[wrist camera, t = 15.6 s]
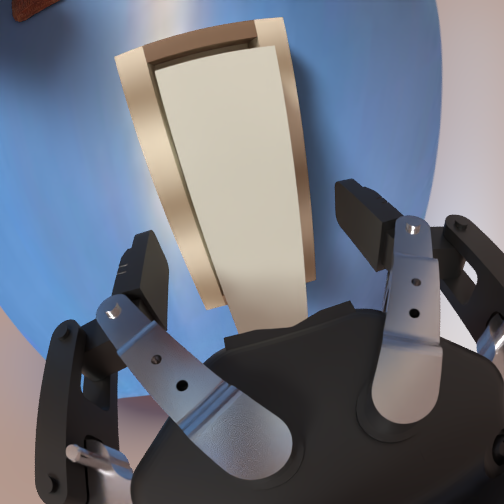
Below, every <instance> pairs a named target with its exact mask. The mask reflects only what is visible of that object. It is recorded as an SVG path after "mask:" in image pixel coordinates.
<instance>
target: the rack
mask: <svg viewBox="0 0 504 504" xmlns="http://www.w3.org/2000/svg"><path fill="white" fill-rule="evenodd" d="M274 45H275V50H276V55H277V60H278V65H279V71H280V76H281V82H282V88H283V94H284V100H285V106H286V112H287V119H288V125H289V132H290V139H291V146H292V154H293V161H294V169H295V177H296V186H297V194H298V203H299V213H300V222H301V233H302V244H303V255H304V268H305V281H306V283H307V282H310V281H314V280H316V271H315V253H314V237H313V224H312V211H311V200H310V189H309V179H308V170H307V161H306V152H305V144H304V136H303V129H302V122H301V115H300V108H299V101H298V95H297V89H296V83H295V77H294V71H293V66H292V60H291V55H290V50H289V44H288V39H287V35H286V30H285V25H284V21H283V17H280V18H268V19H258V20H250V21H242V22H236V23H229V24H224V25H218V26H213V27H208V28H204V29H199V30H195V31H191V32H187V33H183V34H179V35H176V36H172V37H169V38H165V39H162V40H159V41H156V42H153V43H150V44H147V45H144V46H141V47H138V48H136V49H133V50H130V51H128V52H125V53H123V54H120V55H118V56H115V61H116V65H117V69H118V73H119V76H120V80H121V84H122V87H123V91H124V94H125V97H126V101H127V104H128V108H129V111H130V114H131V117H132V120H133V124H134V127H135V130H136V133H137V136H138V139H139V142H140V145H141V148H142V151H143V154H144V157H145V160H146V163H147V165H148V168H149V171H150V174H151V177H152V179H153V182H154V185H155V188H156V190H157V193H158V196H159V198H160V201H161V204H162V206H163V209H164V211H165V214H166V217H167V219H168V222H169V224H170V227H171V229H172V232H173V234H174V237H175V239H176V241H177V244H178V246H179V249H180V251H181V253H182V256H183V258H184V260H185V263H186V265H187V267H188V270H189V272H190V274H191V277H192V279H193V281H194V283H195V286H196V288H197V290H198V292H199V295H200V297H201V299H202V301H203V303H204V305H205V308H206V310H209V309H213V308H216V307H220V306H224V305H228V304H227V301H226V298H225V295H224V293H223V290H222V287H221V284H220V281H219V279H218V276H217V273H216V270H215V267H214V264H213V262H212V259H211V256H210V253H209V250H208V247H207V244H206V241H205V238H204V235H203V232H202V229H201V226H200V223H199V220H198V217H197V214H196V211H195V208H194V205H193V202H192V199H191V196H190V192H189V189H188V186H187V183H186V180H185V176H184V173H183V170H182V167H181V163H180V160H179V157H178V153H177V150H176V147H175V143H174V140H173V136H172V133H171V130H170V126H169V123H168V119H167V115H166V112H165V108H164V105H163V101H162V97H161V94H160V90H159V86H158V82H157V78H156V75H155V71H157V70H160V69H163V68H166V67H169V66H173V65H176V64H180V63H183V62H187V61H191V60H195V59H199V58H203V57H208V56H212V55H217V54H222V53H227V52H232V51H238V50H244V49H251V48H258V47H266V46H274Z"/></svg>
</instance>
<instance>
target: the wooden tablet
mask: <svg viewBox="0 0 504 504" xmlns="http://www.w3.org/2000/svg"><path fill="white" fill-rule="evenodd" d="M57 1H59V0H12V14H13V18H14V19H15V21H18V22H22V21H24V20H27V19H28V18H30V17H31V16H33V15H34V14H36V13H38V12H40V11H41V10H43V9H45V8H46V7H48V6H50V5H52V4H54V3H56V2H57Z"/></svg>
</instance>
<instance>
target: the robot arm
mask: <svg viewBox="0 0 504 504" xmlns="http://www.w3.org/2000/svg"><path fill="white" fill-rule="evenodd" d="M335 210H336V218H337V221H338V224H339V225H340V227H341V228H342V229H343V230H344V232H345V233H346V234H347V235H348V237H349V238H350V239H351V240H352V242H353V243H354V244H355V245H356V247H357V248H358V249H359V250H360V252H361V253H362V254H363V256H364V257H365V258H366V259H367V261H368V262H369V263H370V265H371V266H372V267H373V269H374V270H375V271H376V272H378V271H380V270H383V269H387V270H388V273H387V279H386V286H385V292H384V299H383V304H382V310H381V311H379V310H373V309H355V308H354V306H353V305H352V303H351V301H347V302H344V303H341V304H338V305H335V306H332V307H329V308H326V309H323V310H321V311H319V312H317V313H315V314H314V315H312V316H310V317H309V318H307V319H305V320H303V321H302V322H300V323H298V324H296V325H294V326H292V327H287V328H273V329H257V330H252V331H249V332H245V333H241V334H237V335H233V336H229V337H225V338H224V342H225V348H223V349H221V350H220V351H218V352H216V353H215V354H213V355H212V356H211V357H210V358H208V359H207V360H206V361H205V362H204V363H201V362H200V361H199V360H198V359H197V358H195V357H194V356H193V355H192V354H191V353H190V352H188V351H187V350H186V349H185V348H184V347H183V346H182V345H180V344H179V343H178V342H177V341H176V340H175V339H174V338H173V337H172V336H170V335H169V334H168V333H167V332H166V331H167V308H168V281H169V268H168V263H167V260H166V258H165V255H164V253H163V251H162V249H161V247H160V245H159V242H158V240H157V238H156V236H155V234H154V232H153V231H152V230H149V231H146V232H143V233H140V234H137V235H135V237H134V240H133V244H132V248H130V249H127V251H126V252H125V253H124V255H123V256H122V258H121V261H120V264H119V268H118V272H117V275H116V279H115V283H114V287H113V292H112V296H110V297H109V298H107V299H106V300H104V301H103V302H102V303H101V305H100V306H99V307H98V309H97V312H96V319H94V320H92V321H91V322H89V323H87V324H85V325H83V326H80V325H79V324H78V323H77V322H76V321H75V320H66V321H64V322H62V323H61V324H60V325H59V326H58V327H57V328H56V329H55V331H54V332H53V334H52V337H51V341H50V345H49V350H48V354H47V359H46V364H45V369H44V374H43V380H42V386H41V392H40V399H39V408H38V417H37V428H36V442H35V485H36V489H37V492H38V494H39V496H40V498H41V499H42V500H43V502H44V503H46V504H504V253H503V252H502V251H501V250H500V249H499V248H498V247H497V246H496V245H495V244H494V243H493V242H492V241H491V240H490V239H489V238H488V237H487V236H486V235H485V234H484V233H483V232H482V231H481V230H480V229H479V228H478V227H477V226H476V225H475V224H474V223H472V222H471V221H470V220H469V219H467V218H466V217H463V216H460V215H449V216H448V217H447V218H446V220H445V224H444V227H430V226H429V225H428V223H427V222H426V221H425V220H423V219H421V218H419V217H416V216H410V215H407V216H404V215H402V214H401V213H400V212H399V211H398V210H397V209H396V208H394V207H393V206H392V205H391V204H390V203H389V202H388V203H387V201H386V200H385V199H384V198H382V196H380V195H379V194H378V193H377V192H375V191H374V190H371V189H369V188H367V187H362V186H361V185H360V184H359V183H357V182H356V181H355V180H354V179H347V180H342V181H338V182H336V183H335ZM465 261H467V262H468V263H469V264H470V265H471V266H472V267H473V269H474V270H475V271H476V274H477V278H478V280H477V284H476V285H475V284H474V282H473V281H472V280H471V279H470V278H469V276H468V275H467V274H466V273H465V271H464V270H463V267H464V264H465ZM440 290H441V291H442V292H443V294H444V295H445V297H446V298H447V300H448V301H449V302H450V304H451V305H452V307H453V308H454V310H455V311H456V313H457V314H458V316H459V317H460V319H461V320H462V322H463V323H464V324H465V326H466V328H467V329H468V331H469V332H470V334H471V335H472V337H473V339H474V340H475V342H476V344H477V353H476V352H474V351H471V350H469V349H467V348H465V347H462V346H460V345H458V344H456V343H453V342H451V341H449V340H446V339H444V338H442V337H440ZM126 367H128V368H129V369H130V371H131V372H132V373H133V375H134V376H135V377H136V378H137V380H138V381H139V382H140V383H141V384H142V386H143V387H144V388H145V389H146V390H147V392H148V393H149V394H150V395H151V396H152V397H153V399H154V400H155V401H156V402H157V403H158V404H159V405H160V406H161V408H163V410H164V411H165V412H166V413H167V414H168V415H169V417H168V419H167V420H166V422H165V423H164V425H163V426H162V428H161V430H160V431H159V433H158V434H157V436H156V438H155V439H154V441H153V442H152V444H151V446H150V447H149V449H148V450H147V452H146V453H145V455H144V457H143V458H142V459H141V461H140V463H139V464H138V466H137V467H136V469H135V471H134V473H133V470H132V468H131V467H130V464H129V462H128V459H127V458H126V456H125V455H124V454H123V453H121V452H120V451H119V437H118V410H117V383H118V371H120V370H122V369H124V368H126ZM81 374H83V375H84V385H83V393H82V391H81V386H80V385H81Z"/></svg>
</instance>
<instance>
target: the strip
mask: <svg viewBox="0 0 504 504" xmlns="http://www.w3.org/2000/svg"><path fill="white" fill-rule="evenodd" d="M155 75H156V78H157V82H158V86H159V90H160V94H161V97H162V101H163V105H164V108H165V112H166V115H167V119H168V123H169V126H170V130H171V133H172V136H173V140H174V143H175V147H176V150H177V153H178V157H179V160H180V163H181V167H182V170H183V173H184V176H185V180H186V183H187V186H188V189H189V192H190V196H191V199H192V202H193V205H194V208H195V211H196V214H197V217H198V220H199V223H200V226H201V229H202V232H203V235H204V238H205V241H206V244H207V247H208V250H209V253H210V256H211V259H212V262H213V264H214V267H215V270H216V273H217V276H218V279H219V281H220V284H221V287H222V290H223V293H224V295H225V298H226V301H227V304H228V306H229V309H230V312H231V314H232V317H233V320H234V322H235V325H236V328H237V330H238V333H239V334H241V333H245V332H249V331H252V330H257V329H273V328H287V327H292V326H294V325H296V324H298V323H300V322H302V321H303V320H305V319H307V318H308V313H307V296H306V281H305V268H304V255H303V244H302V233H301V222H300V213H299V203H298V194H297V186H296V177H295V169H294V161H293V154H292V146H291V139H290V132H289V125H288V119H287V112H286V106H285V100H284V94H283V88H282V82H281V76H280V71H279V65H278V60H277V55H276V50H275V45H274V46H266V47H258V48H251V49H244V50H238V51H232V52H227V53H222V54H217V55H212V56H208V57H203V58H199V59H195V60H191V61H187V62H183V63H180V64H176V65H173V66H169V67H166V68H163V69H160V70H157V71H155Z"/></svg>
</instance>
